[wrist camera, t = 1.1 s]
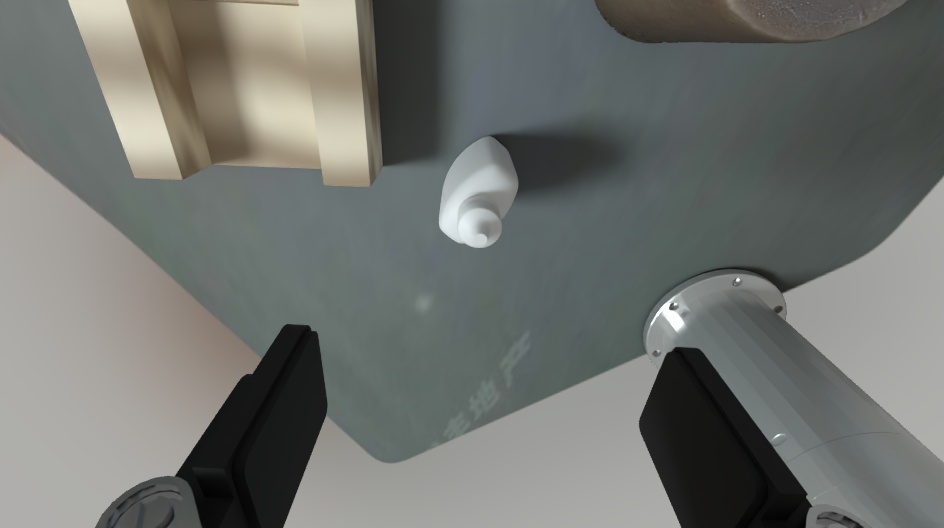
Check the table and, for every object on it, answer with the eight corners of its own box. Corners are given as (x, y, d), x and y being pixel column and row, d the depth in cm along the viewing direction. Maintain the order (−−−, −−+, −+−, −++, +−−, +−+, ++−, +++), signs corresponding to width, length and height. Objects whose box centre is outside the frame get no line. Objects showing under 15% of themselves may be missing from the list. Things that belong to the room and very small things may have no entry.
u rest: (382, 166, 31) (370, 187, 27) (179, 158, 30) (134, 177, 26) (369, -48, 24) (349, -65, 20) (110, -64, 24) (36, -84, 20)
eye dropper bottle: (518, 183, 31) (545, 258, 21) (451, 207, 32) (445, 290, 22) (501, 129, 29) (521, 181, 19) (430, 156, 30) (411, 220, 20)
